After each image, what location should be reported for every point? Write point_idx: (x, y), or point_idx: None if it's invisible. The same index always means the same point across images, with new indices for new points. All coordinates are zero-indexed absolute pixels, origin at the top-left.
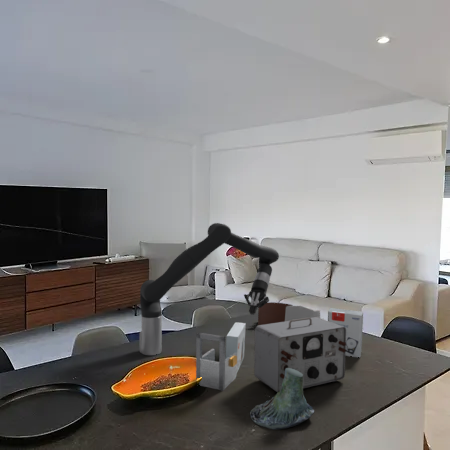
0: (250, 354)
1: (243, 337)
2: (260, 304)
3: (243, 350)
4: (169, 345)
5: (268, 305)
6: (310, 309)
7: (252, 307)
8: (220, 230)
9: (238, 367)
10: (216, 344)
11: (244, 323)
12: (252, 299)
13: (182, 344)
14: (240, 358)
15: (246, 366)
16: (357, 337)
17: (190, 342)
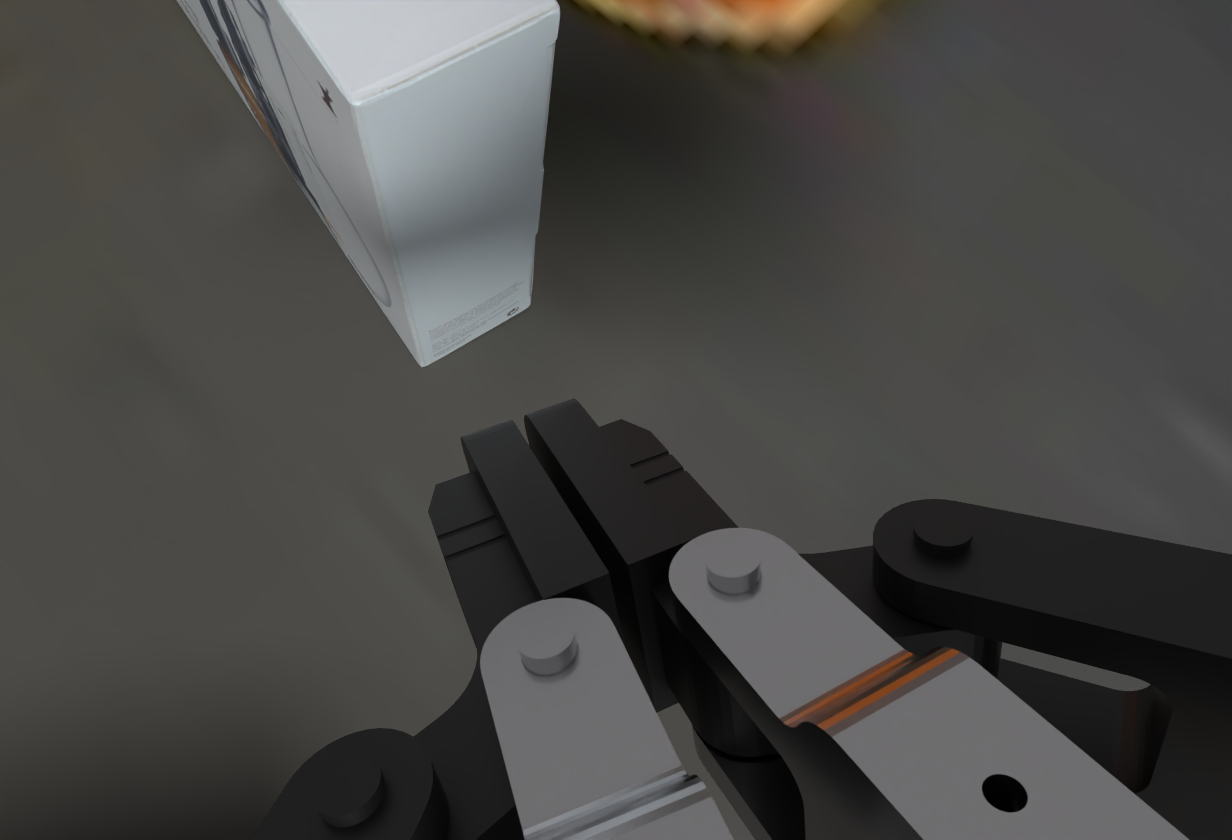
0: (420, 489)
1: (241, 29)
2: (275, 829)
3: (334, 221)
4: (1172, 95)
5: None
6: None
7: (597, 522)
8: None
9: (195, 27)
10: (951, 443)
11: (351, 61)
12: (913, 705)
13: (1138, 191)
14: (217, 52)
15: (202, 173)
16: None
17: (1153, 285)
